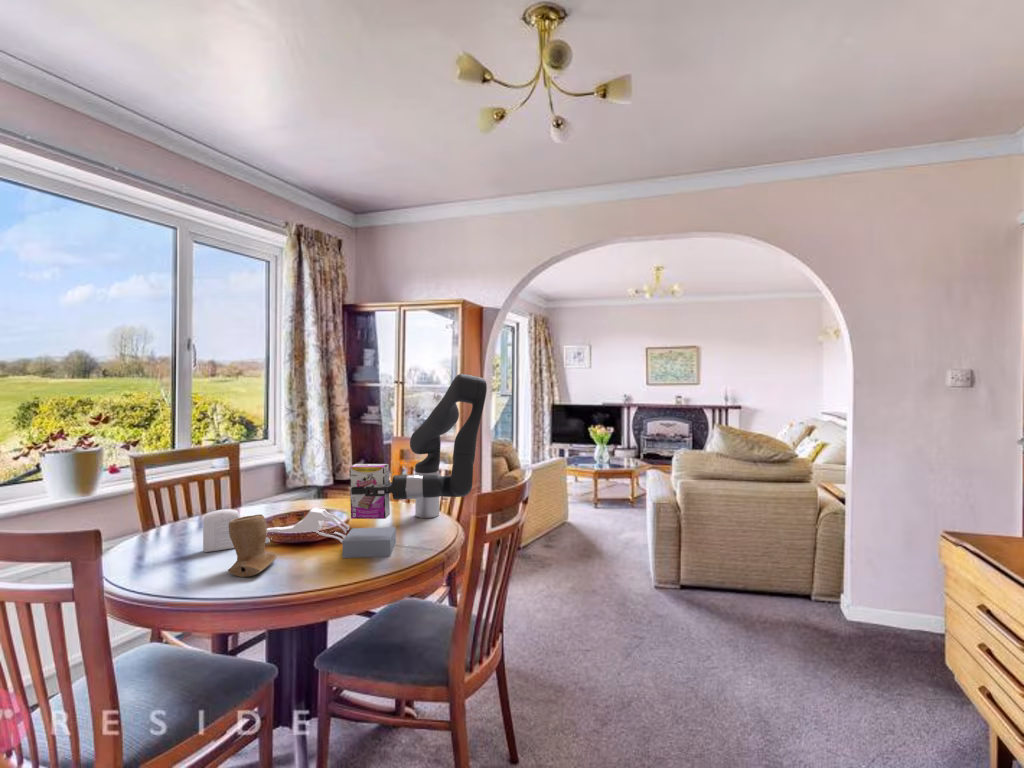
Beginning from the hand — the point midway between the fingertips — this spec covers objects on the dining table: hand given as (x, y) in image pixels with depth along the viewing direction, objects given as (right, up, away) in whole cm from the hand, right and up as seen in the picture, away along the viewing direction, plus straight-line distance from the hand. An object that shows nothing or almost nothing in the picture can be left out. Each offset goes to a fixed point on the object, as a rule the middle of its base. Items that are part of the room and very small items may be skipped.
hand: (353, 488), depth 170 cm
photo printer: (-42, -20, +3) cm, 47 cm away
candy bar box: (+5, -9, 0) cm, 10 cm away
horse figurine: (-18, -20, +10) cm, 29 cm away
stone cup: (-25, -20, -16) cm, 35 cm away
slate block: (+5, -19, +1) cm, 20 cm away
